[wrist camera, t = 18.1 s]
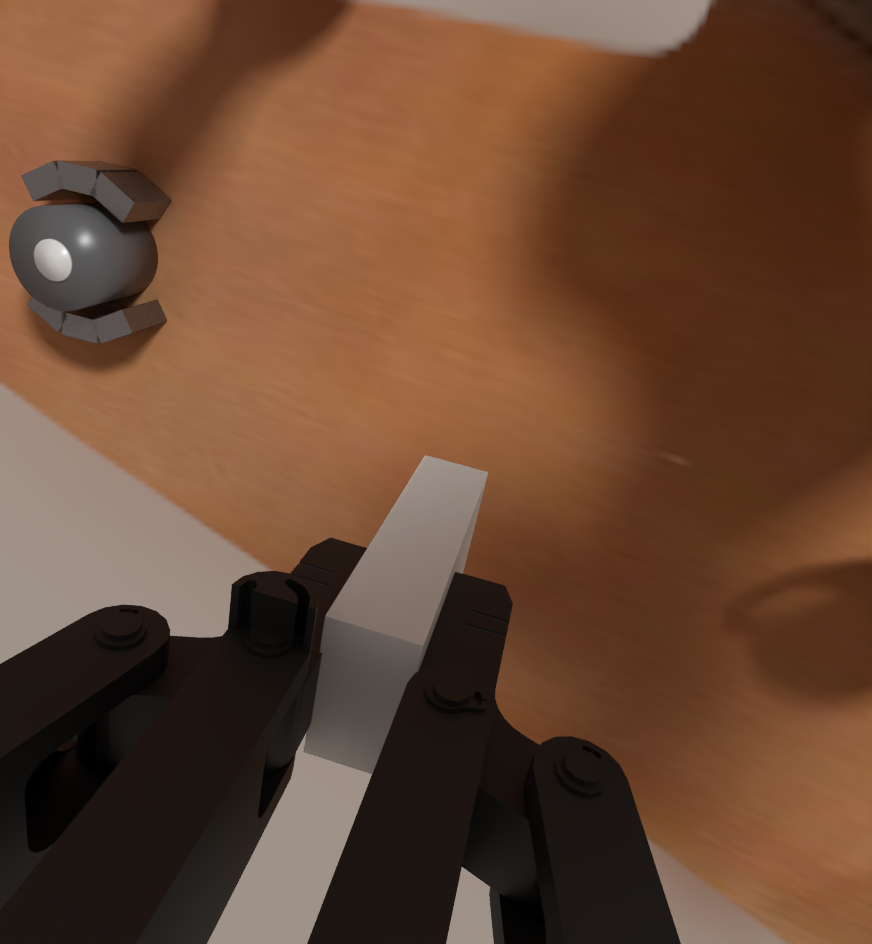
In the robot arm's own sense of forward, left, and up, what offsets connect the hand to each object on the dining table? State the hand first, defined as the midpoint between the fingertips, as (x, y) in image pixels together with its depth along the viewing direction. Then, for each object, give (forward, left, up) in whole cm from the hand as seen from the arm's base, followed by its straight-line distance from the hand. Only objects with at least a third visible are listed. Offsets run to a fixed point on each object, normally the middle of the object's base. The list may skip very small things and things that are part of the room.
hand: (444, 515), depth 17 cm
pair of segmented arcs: (+3, -28, -29) cm, 41 cm away
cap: (+3, -28, -30) cm, 41 cm away
